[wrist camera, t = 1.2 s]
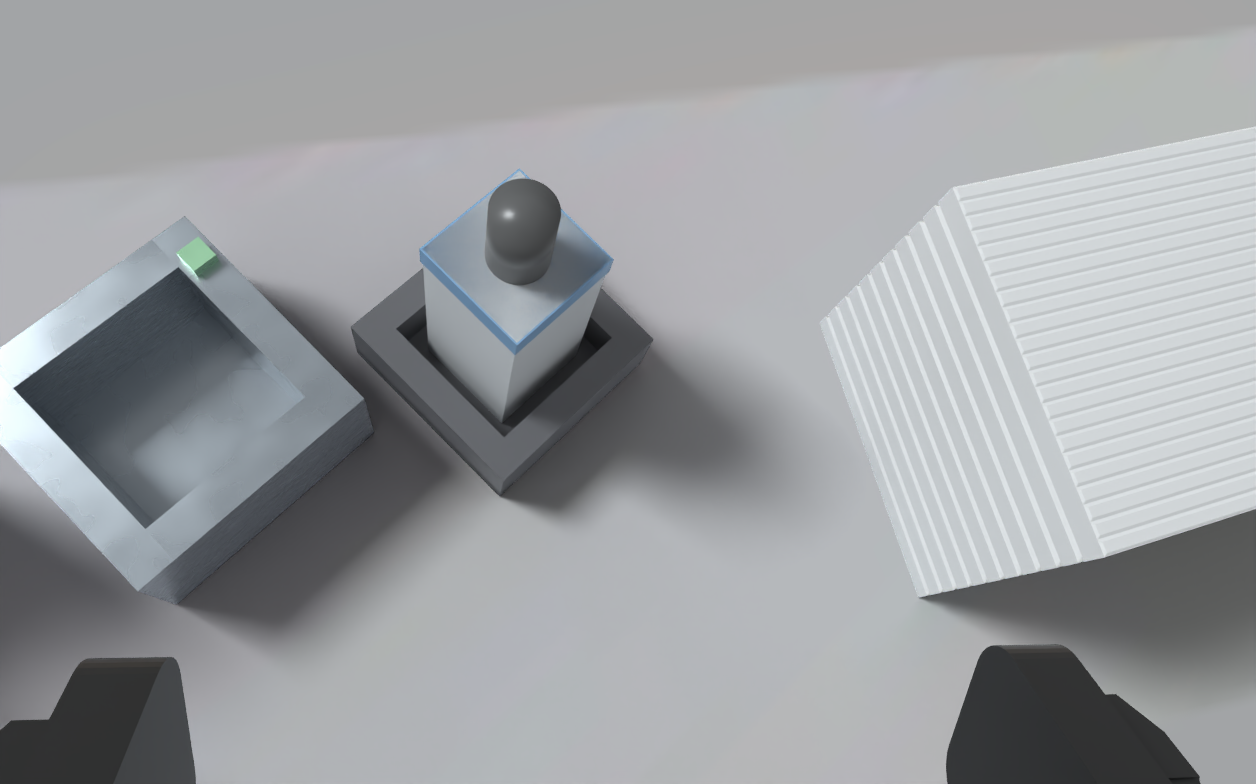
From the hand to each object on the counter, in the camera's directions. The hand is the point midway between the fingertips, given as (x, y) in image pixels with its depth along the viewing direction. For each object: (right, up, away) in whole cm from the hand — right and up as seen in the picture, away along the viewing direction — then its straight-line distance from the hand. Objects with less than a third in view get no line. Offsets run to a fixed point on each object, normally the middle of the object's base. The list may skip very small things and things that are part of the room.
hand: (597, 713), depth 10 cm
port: (-14, +2, +22) cm, 26 cm away
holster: (-4, +4, +25) cm, 25 cm away
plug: (-4, +5, +24) cm, 25 cm away
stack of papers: (+24, +4, +30) cm, 39 cm away
